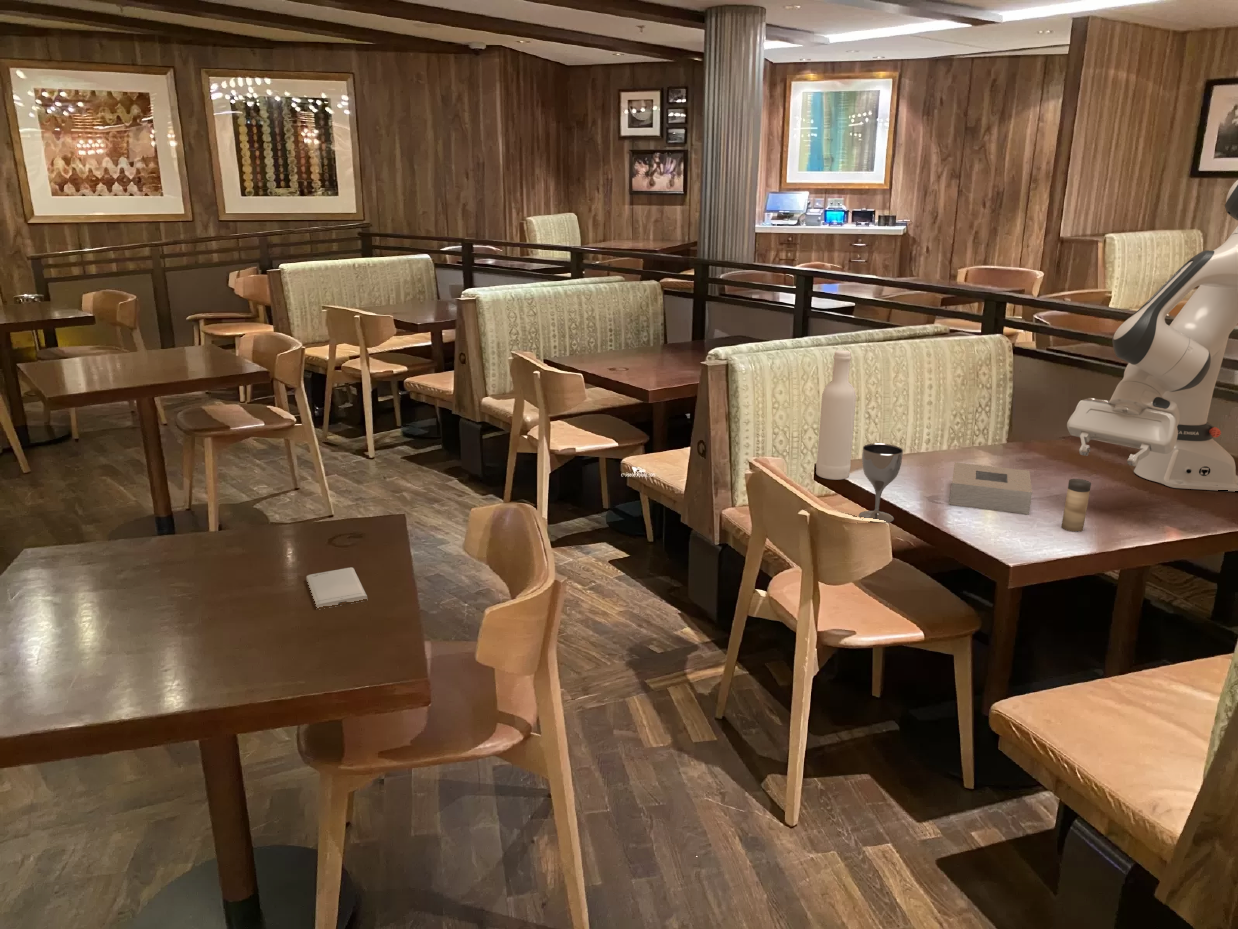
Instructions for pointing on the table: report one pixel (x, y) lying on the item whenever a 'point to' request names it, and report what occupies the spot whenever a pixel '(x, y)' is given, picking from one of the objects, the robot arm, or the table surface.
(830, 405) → the bottle
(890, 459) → the wine glass
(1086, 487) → the plug
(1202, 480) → the robot arm
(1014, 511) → the housing
